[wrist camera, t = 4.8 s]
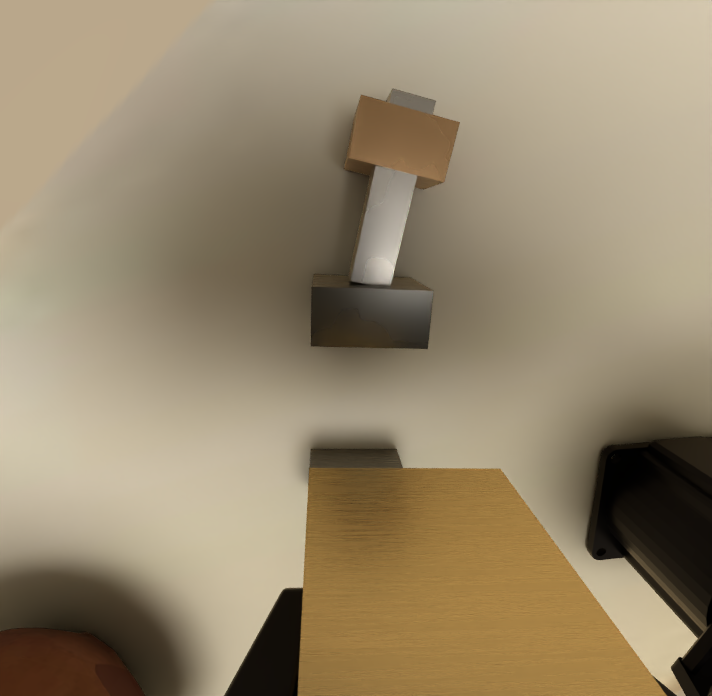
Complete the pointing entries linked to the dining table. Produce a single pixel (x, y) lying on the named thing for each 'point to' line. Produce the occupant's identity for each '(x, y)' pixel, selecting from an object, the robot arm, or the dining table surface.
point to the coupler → (447, 594)
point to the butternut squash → (61, 665)
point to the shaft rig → (382, 244)
